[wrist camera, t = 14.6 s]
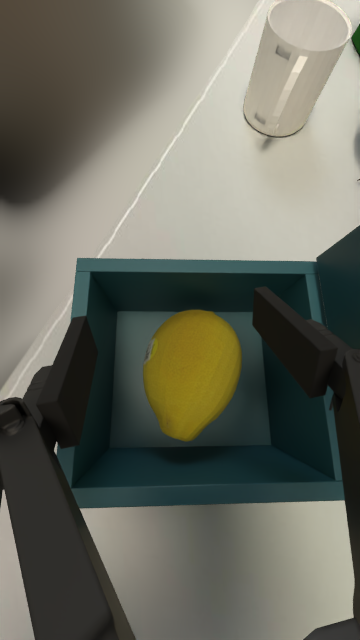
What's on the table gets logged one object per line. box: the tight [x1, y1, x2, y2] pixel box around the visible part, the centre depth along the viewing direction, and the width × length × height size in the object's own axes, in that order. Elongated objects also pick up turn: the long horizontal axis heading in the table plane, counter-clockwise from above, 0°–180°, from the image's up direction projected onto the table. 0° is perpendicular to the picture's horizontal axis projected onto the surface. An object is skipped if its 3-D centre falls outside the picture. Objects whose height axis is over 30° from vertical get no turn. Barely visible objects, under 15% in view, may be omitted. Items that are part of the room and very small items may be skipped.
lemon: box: [143, 310, 242, 442], centre depth 21 cm, size 11×8×8 cm
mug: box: [244, 0, 352, 137], centre depth 31 cm, size 12×9×9 cm
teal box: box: [57, 258, 345, 508], centre depth 21 cm, size 17×15×10 cm
